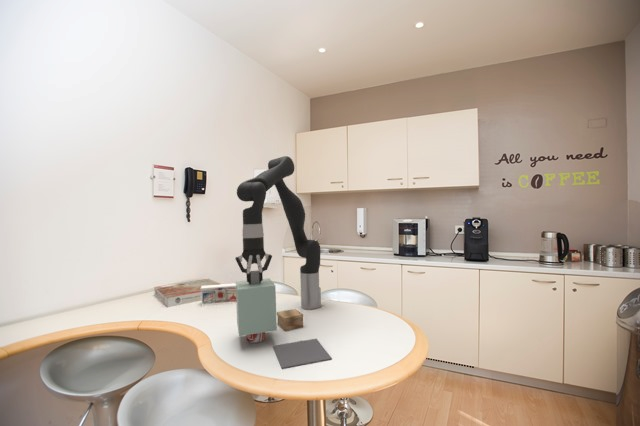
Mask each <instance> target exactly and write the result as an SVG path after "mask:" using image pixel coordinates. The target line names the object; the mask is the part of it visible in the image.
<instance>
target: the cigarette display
mask: <svg viewBox="0 0 640 426" xmlns="http://www.w3.org/2000/svg"><path fill="white" fill-rule="evenodd" d="M200 289H202V301H201V305H200V307H206V306H207V307H208V306H218V305H219V306H221V305H229V304H236V282H235V283H224V284H223V283H220V285H206V286H201V288H200Z"/></svg>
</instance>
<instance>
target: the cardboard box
mask: <svg viewBox="0 0 640 426" xmlns="http://www.w3.org/2000/svg"><path fill="white" fill-rule="evenodd" d="M276 317H277V326H279V328H281V329H282V331H284V332H287V331H291V330H296V329H300V328H304V313H302V312H301V311H299V310H298V309H296V308H293V309H286V310H282V311H276Z"/></svg>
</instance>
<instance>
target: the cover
mask: <svg viewBox="0 0 640 426" xmlns="http://www.w3.org/2000/svg"><path fill="white" fill-rule="evenodd" d="M250 274H251V284H249V282H247V280H239V281H235V283H236V303H235V304H236V323H237V324H236V325H237V332H238V336H239V337H243V336H246V335H250V334H257V333H263V332H265V333H268V332H276V331H278V328H277V327H278V320H277V295H276V292H277V290H276V285H275V282H273V281H272V279H271V278H263V280H262V281H261V283H259V270H258V269H257V270H250Z"/></svg>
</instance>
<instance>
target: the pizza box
mask: <svg viewBox="0 0 640 426" xmlns="http://www.w3.org/2000/svg"><path fill="white" fill-rule="evenodd" d="M220 284H221V283H220V282H217V281H215V280H212V279H210V278H203V279H199V280H198V279H196V280H192V281H191V280H190V281H186V282H178V283H173V284H166V285H161V286H154V289H153V291H154V292H153V293H154V296H155V297H156V298H157V299H158V300H159V301H160V302H161V303H162V304H163V305H164V306H165V307H167V308H171V307H177V306H180V305H181V306H182V305H186V304H192V303H195V302H196V303H197V302H202V289H200V288H201V286H206V285H220Z"/></svg>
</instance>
